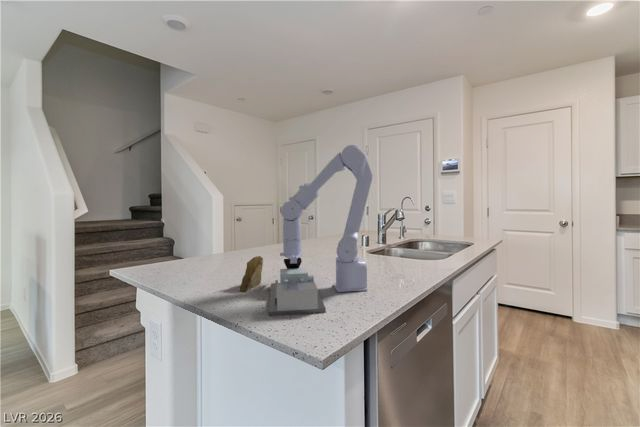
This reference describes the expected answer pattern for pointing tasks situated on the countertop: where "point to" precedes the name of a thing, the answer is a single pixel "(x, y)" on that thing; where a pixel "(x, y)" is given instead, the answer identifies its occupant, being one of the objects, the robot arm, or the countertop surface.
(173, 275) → the countertop surface
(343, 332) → the countertop surface
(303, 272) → the pale blue-grey box
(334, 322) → the countertop surface
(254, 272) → the rock
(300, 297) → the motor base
